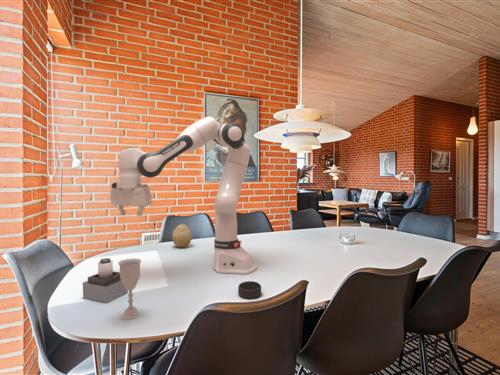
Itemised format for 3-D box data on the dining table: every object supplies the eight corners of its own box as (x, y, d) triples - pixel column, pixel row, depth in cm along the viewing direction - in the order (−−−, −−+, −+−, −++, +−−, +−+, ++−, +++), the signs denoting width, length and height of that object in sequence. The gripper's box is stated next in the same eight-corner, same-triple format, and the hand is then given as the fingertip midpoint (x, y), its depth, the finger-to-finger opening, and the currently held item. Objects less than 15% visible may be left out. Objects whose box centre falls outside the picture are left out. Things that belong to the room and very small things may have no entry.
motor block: (127, 292, 111) (127, 272, 111) (106, 303, 102) (106, 281, 102) (98, 287, 117) (97, 268, 117) (75, 296, 108) (75, 276, 108)
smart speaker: (233, 296, 108) (233, 286, 107) (246, 288, 115) (246, 279, 115) (253, 301, 103) (253, 291, 103) (265, 293, 111) (265, 283, 110)
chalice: (114, 318, 91) (112, 263, 91) (130, 309, 98) (128, 257, 97) (131, 322, 89) (130, 265, 88) (147, 312, 95) (146, 259, 94)
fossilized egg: (171, 250, 176) (171, 226, 176) (172, 245, 188) (172, 223, 188) (192, 248, 179) (192, 225, 178) (191, 244, 191) (191, 222, 191)
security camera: (115, 278, 110) (115, 258, 110) (105, 283, 105) (104, 262, 105) (106, 277, 112) (105, 257, 112) (95, 281, 107) (94, 260, 107)
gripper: (154, 184, 123) (155, 215, 124) (118, 184, 131) (119, 213, 131) (144, 184, 118) (145, 217, 118) (107, 184, 125) (108, 215, 125)
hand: (131, 215), depth 125 cm, fingers open, 8 cm apart
